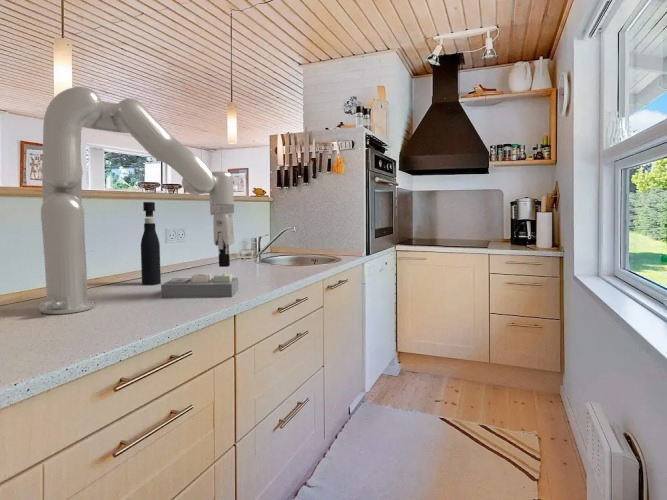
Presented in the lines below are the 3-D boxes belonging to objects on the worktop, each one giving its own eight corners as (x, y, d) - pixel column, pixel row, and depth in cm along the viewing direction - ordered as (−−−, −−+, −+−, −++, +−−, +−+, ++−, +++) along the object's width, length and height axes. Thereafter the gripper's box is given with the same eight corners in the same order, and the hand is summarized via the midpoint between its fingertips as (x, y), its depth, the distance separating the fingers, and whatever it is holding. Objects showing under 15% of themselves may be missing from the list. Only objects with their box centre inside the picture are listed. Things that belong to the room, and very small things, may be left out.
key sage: (229, 285, 137) (229, 275, 136) (214, 285, 136) (213, 275, 136) (232, 282, 142) (232, 273, 141) (217, 282, 141) (217, 273, 141)
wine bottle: (163, 283, 156) (161, 202, 154) (146, 285, 152) (143, 201, 149) (156, 281, 161) (153, 202, 158) (139, 283, 156) (136, 202, 153)
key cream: (207, 285, 136) (207, 275, 136) (191, 285, 136) (191, 276, 136) (211, 282, 141) (211, 273, 141) (196, 282, 141) (195, 273, 141)
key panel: (231, 296, 133) (231, 284, 133) (161, 297, 132) (161, 284, 131) (238, 289, 146) (238, 277, 146) (174, 289, 145) (174, 278, 144)
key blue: (185, 290, 136) (185, 281, 136) (169, 290, 136) (169, 281, 135) (190, 287, 141) (189, 278, 141) (174, 287, 141) (174, 278, 140)
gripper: (229, 210, 130) (232, 269, 132) (237, 209, 144) (239, 263, 146) (204, 210, 129) (207, 270, 131) (215, 210, 144) (217, 263, 146)
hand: (224, 266), depth 139 cm, fingers closed
